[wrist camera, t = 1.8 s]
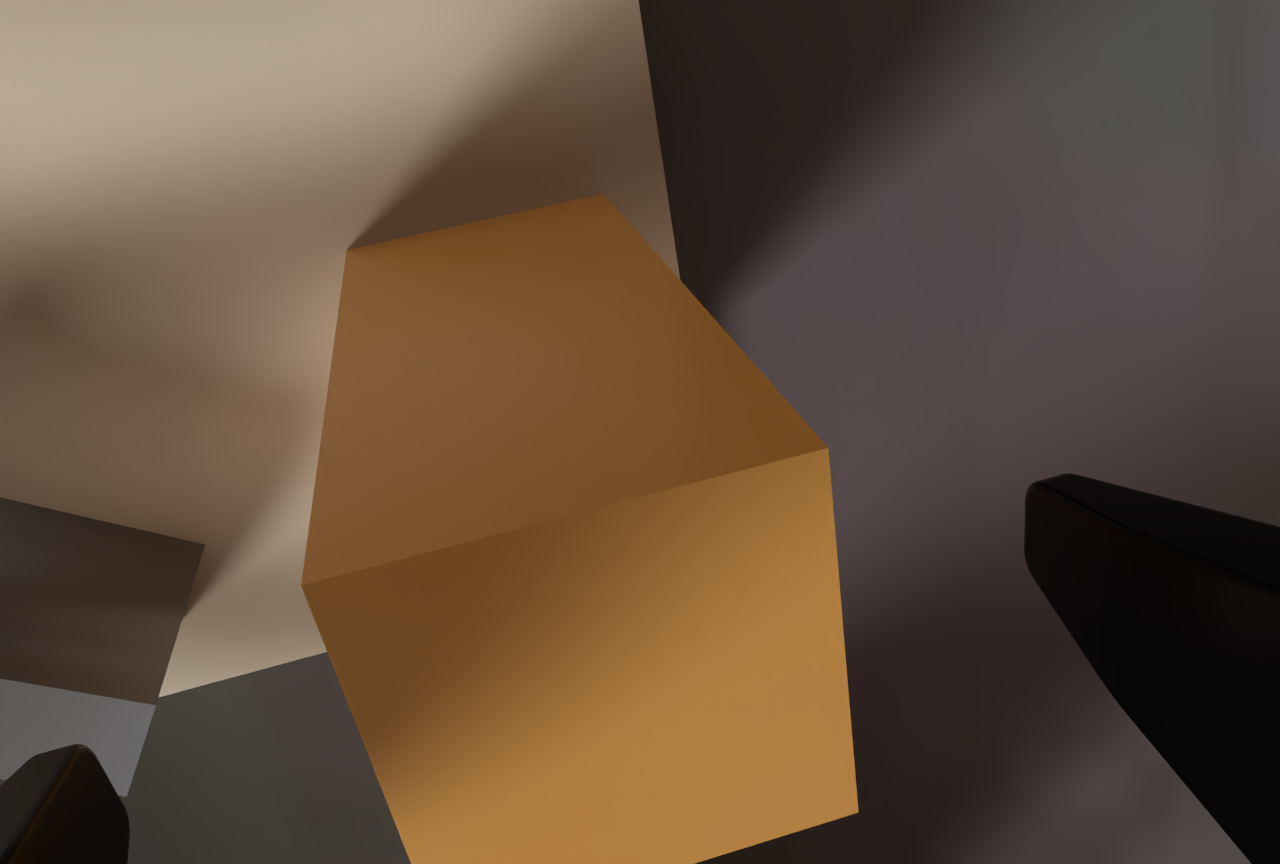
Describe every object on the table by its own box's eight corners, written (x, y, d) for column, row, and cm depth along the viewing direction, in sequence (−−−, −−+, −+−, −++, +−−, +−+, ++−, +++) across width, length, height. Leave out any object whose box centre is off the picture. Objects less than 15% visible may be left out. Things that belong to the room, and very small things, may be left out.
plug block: (644, 418, 17) (859, 811, 9) (416, 476, 17) (441, 942, 9) (603, 193, 15) (827, 447, 8) (346, 249, 15) (301, 585, 7)
